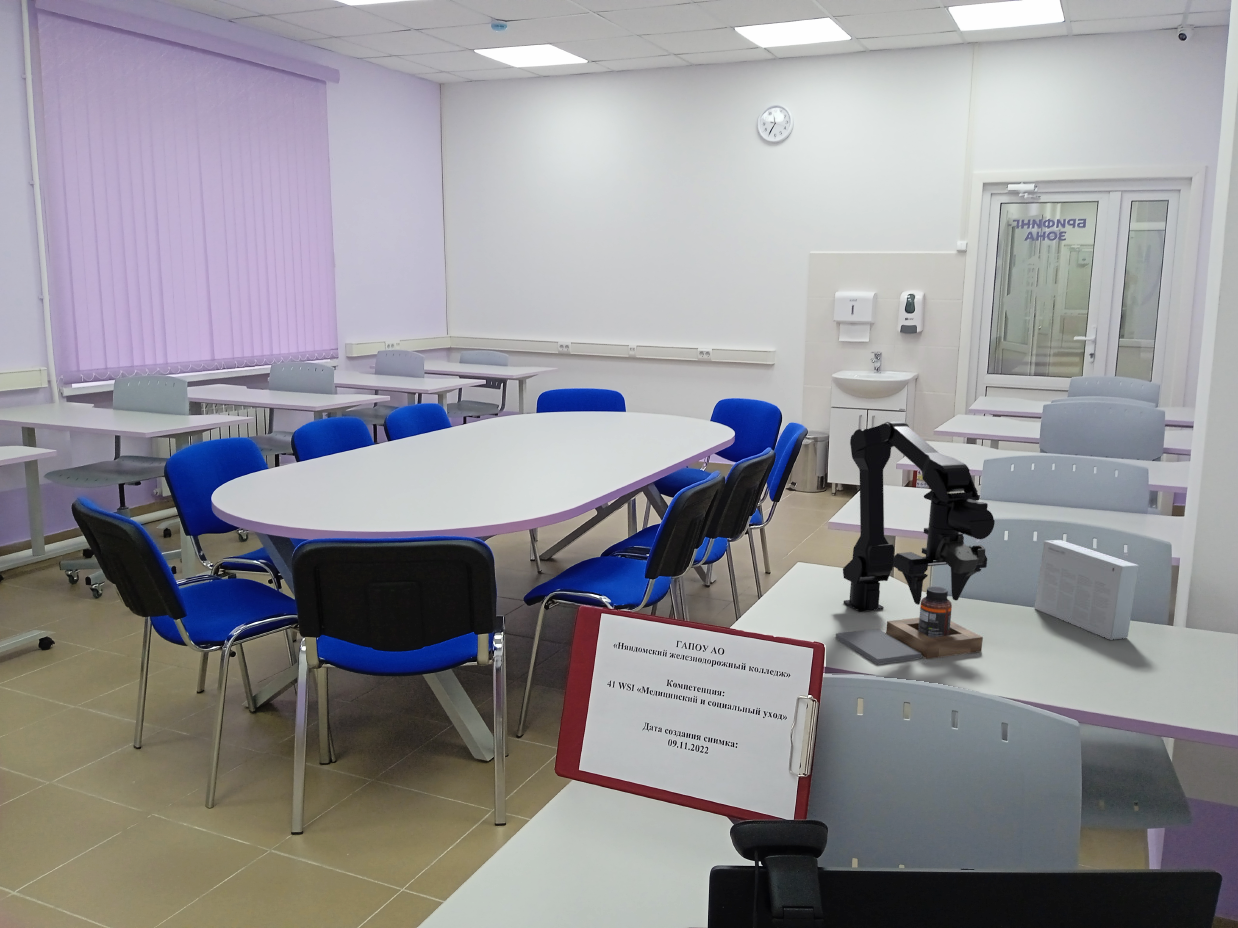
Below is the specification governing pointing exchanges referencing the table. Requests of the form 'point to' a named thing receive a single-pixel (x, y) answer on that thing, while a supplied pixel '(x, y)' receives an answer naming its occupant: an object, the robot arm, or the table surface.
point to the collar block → (935, 639)
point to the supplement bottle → (935, 613)
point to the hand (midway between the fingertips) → (936, 601)
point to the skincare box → (1086, 588)
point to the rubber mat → (878, 646)
